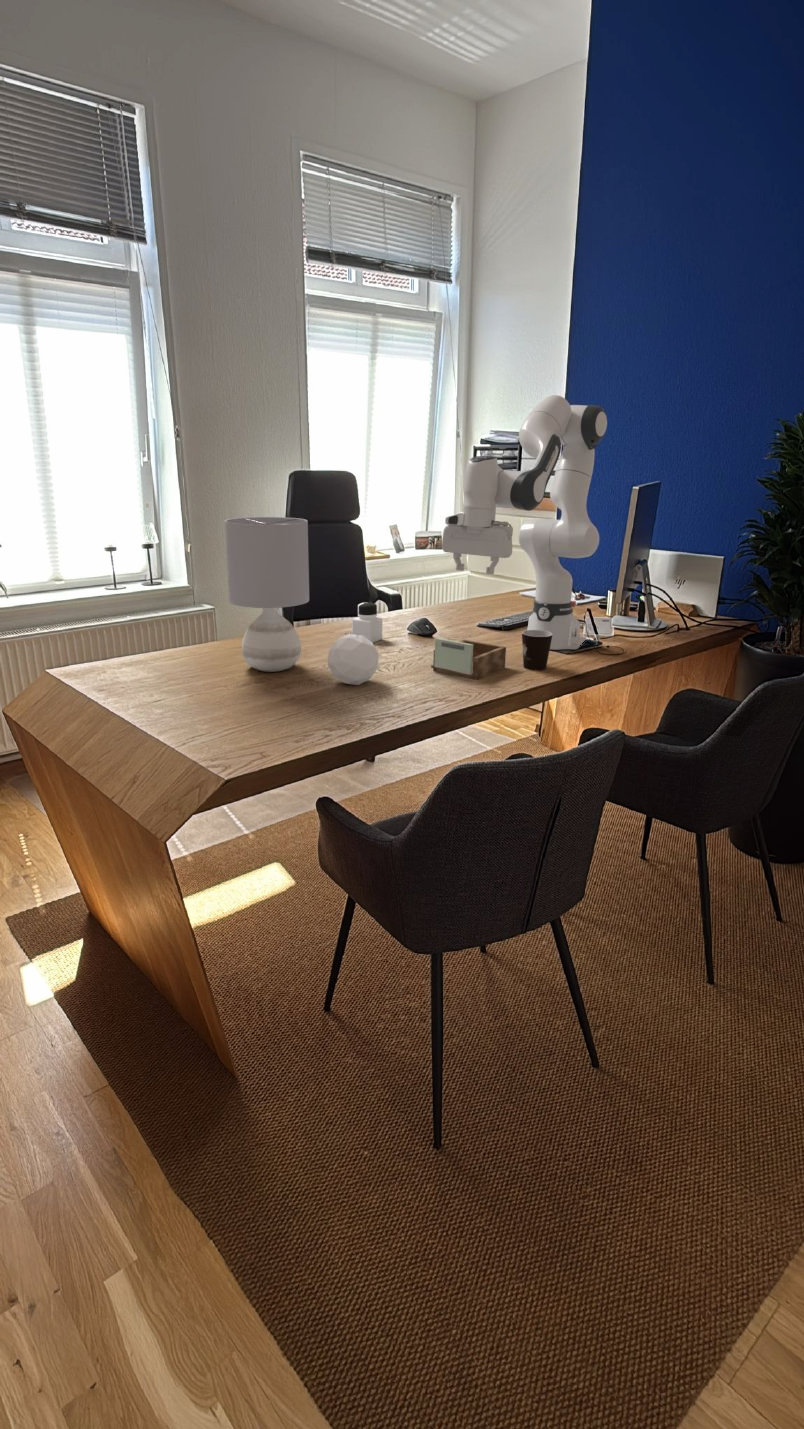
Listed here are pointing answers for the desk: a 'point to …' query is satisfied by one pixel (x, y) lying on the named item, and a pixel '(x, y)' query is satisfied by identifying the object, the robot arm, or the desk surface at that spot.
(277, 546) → the lamp
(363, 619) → the medicine bottle
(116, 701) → the desk surface
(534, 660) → the coffee mug
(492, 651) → the crate
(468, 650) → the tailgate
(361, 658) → the geodesic sphere
